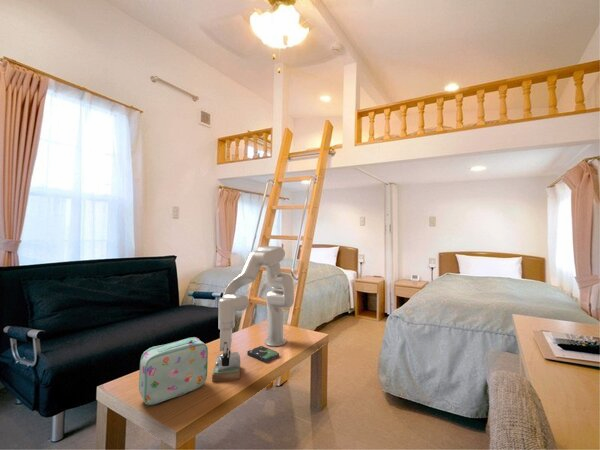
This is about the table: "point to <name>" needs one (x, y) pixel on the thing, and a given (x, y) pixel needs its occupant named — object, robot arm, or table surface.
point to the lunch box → (172, 370)
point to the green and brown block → (225, 374)
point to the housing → (233, 361)
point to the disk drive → (263, 354)
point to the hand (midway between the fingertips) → (226, 361)
